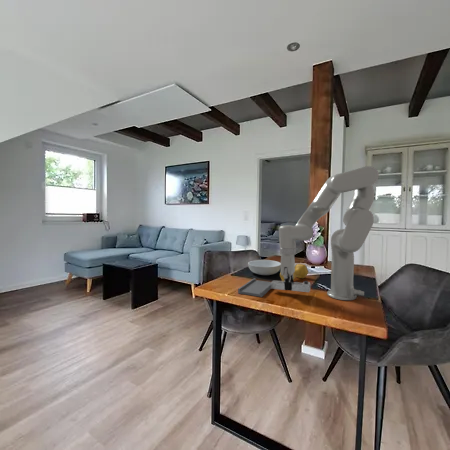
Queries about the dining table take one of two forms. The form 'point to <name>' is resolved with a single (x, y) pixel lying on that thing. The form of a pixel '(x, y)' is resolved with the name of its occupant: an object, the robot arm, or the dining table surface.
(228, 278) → the dining table surface
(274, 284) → the grey grooved bar
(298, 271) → the dumbbell
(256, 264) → the serving bowl
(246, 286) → the rest tray
